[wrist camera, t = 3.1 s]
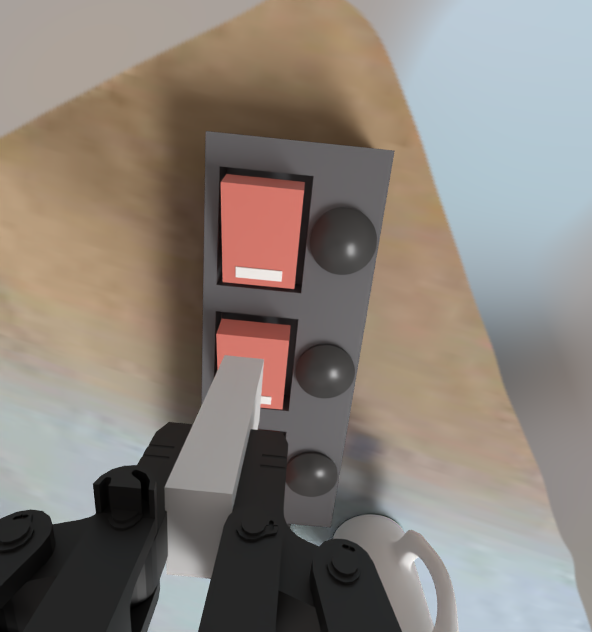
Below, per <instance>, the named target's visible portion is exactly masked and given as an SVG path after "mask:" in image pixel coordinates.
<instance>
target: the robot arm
mask: <svg viewBox="0 0 592 632" xmlns="http://www.w3.org/2000/svg"><path fill="white" fill-rule="evenodd" d="M263 367H264V359H257V358H247V357H237V356H228V355H224V358H223V360H222V362H221V364H220V366H219V369H218V371H217V373H216V375H215V377H214V380H213V382H212V384H211V386H210V388H209V391H208V393H207V395H206V397H205V399H204V402H203V404H202V406H201V408H200V410H199V412H198V415H197V417H196V419H195V421H194V423H193V424H183V423H173V422H169V423H167V424H166V425H165V426H163V427H162V428H161V429H159V430H158V431H157V432H156V433H155V435H154V437H153V438H152V440H151V442H150V444H149V447H147V449H146V450H145V452H144V454H143V457H141V459H140V461H139V463H138V464H137V465H133V466H122V467H119V468H115V469H112V470H110V471H108V472H107V473H105V474H103V475H101V476H100V477H99V478H98V479H97V480H96V481H95V482H94V483H93V489H94V498H95V508H96V514H95V515H94V516H91V517H89V518H85V519H81V520H76V521H70V522H64V523H59V524H53V525H52V521H51V518H50V516H49V515H47V514H46V513H44V512H43V511H37V510H26V511H19V512H16V513H13V514H11V515H8V516H6V517H3V518H1V519H0V632H147V630H148V627H149V624H150V622H151V619H152V616H153V613H154V610H155V607H156V604H157V601H158V598H159V591H160V577H161V574H162V571H163V568H164V566H165V563H166V566H167V574H168V575H178V576H188V577H199V578H209V579H211V581H210V585H209V589H208V593H207V597H206V601H205V605H204V610H203V614H202V618H201V622H200V626H199V630H198V632H402V630H401V628H400V625H399V623H398V620H397V618H396V616H395V613H394V611H393V608H392V606H391V603H390V601H389V599H388V596H387V594H386V591H385V589H384V586H383V584H382V582H381V579H380V577H379V574H378V572H377V569H376V567H375V565H374V562H373V561H372V559H371V558H370V556H369V554H368V553H367V552H366V551H365V550H364V549H363V548H362V547H361V546H359V545H358V544H357V543H354V542H352V541H349V540H347V539H335V538H334V539H331V540H328V541H325V542H323V543H322V544H321V545H320V546H317V545H314V544H312V543H310V542H307V541H305V540H303V539H302V538H300V537H298V536H297V535H296V534H295V533H294V532H292V531H291V529H290V528H289V526H288V525H287V523H286V521H285V518H284V497H285V484H286V469H287V456H288V442H287V440H286V438H285V436H284V434H283V432H274V431H264V430H257V429H258V424H259V418H260V405H261V392H262V380H263Z"/></svg>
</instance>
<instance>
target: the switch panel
mask: <svg viewBox="0 0 592 632" xmlns="http://www.w3.org/2000/svg"><path fill="white" fill-rule="evenodd" d="M393 157H394V151H392V150H383V149H373V148H363V147H354V146H344V145H335V144H325V143H315V142H306V141H296V140H287V139H277V138H267V137H258V136H248V135H239V134H229V133H219V132H210V131H206V145H205V211H204V278H203V345H202V404H203V402H204V399H205V397H206V395H207V393H208V391H209V388H210V386H211V384H212V382H213V380H214V377H215V375H216V373H217V371H218V367H217V337H216V334H217V331H218V328H219V325H220V322H221V319H231V320H242V321H252V322H262V323H272V324H282V325H291V327H290V337H289V348H288V358H287V368H286V378H285V388H284V398H283V408H282V409H271V408H261V407H260V418H259V424H258V429H263V430H273V431H280V432H283V434H284V436H285V438H286V440H287V442H288V456H287V469H286V484H285V497H284V518H285V521H286V523H287V525H288V526H289V528H290V525H291V524H298V525H309V526H320V527H331V522H332V516H333V510H334V504H335V498H336V492H337V487H338V481H339V475H340V469H341V463H342V457H343V451H344V445H345V439H346V434H347V428H348V422H349V416H350V410H351V404H352V398H353V392H354V386H355V380H356V375H357V369H358V363H359V357H360V351H361V345H362V339H363V333H364V327H365V322H366V316H367V310H368V304H369V298H370V292H371V286H372V280H373V274H374V269H375V263H376V257H377V251H378V245H379V239H380V233H381V227H382V221H383V215H384V210H385V204H386V198H387V192H388V186H389V180H390V174H391V168H392V162H393ZM226 174H232V175H241V176H251V177H261V178H271V179H280V180H290V181H300V182H305V186H304V196H303V206H302V216H301V226H300V236H299V246H298V256H297V266H296V276H295V287H294V289H289V288H279V287H269V286H259V285H249V284H238V283H228V282H223V273H222V223H221V181H222V179H223V178H224V177H225V175H226Z"/></svg>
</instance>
